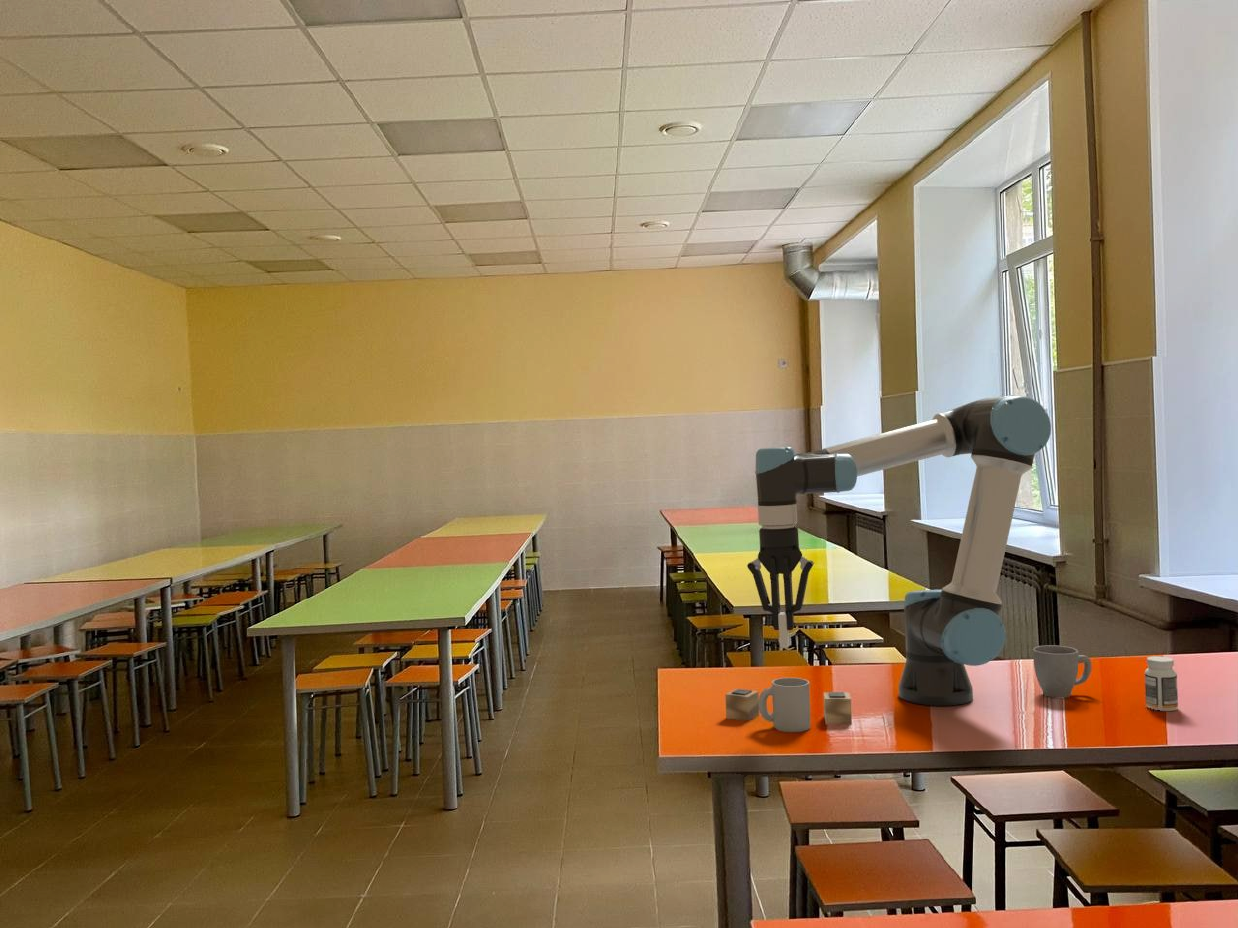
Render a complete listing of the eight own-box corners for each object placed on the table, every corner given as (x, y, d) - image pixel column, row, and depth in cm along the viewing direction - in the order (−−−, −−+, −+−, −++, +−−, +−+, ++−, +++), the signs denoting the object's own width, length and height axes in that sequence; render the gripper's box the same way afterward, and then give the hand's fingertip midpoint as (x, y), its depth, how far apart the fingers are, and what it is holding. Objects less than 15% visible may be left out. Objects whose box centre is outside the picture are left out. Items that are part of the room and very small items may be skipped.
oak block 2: (849, 717, 199) (848, 691, 199) (851, 724, 194) (850, 697, 194) (824, 717, 200) (823, 691, 200) (825, 724, 195) (825, 697, 195)
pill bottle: (1176, 705, 198) (1175, 656, 198) (1179, 713, 193) (1178, 662, 193) (1144, 703, 201) (1143, 655, 201) (1146, 710, 196) (1145, 661, 195)
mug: (1046, 701, 205) (1045, 655, 205) (1026, 690, 214) (1025, 646, 214) (1102, 698, 206) (1101, 652, 206) (1080, 687, 215) (1079, 643, 214)
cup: (813, 732, 190) (811, 686, 189) (760, 733, 190) (759, 687, 190) (808, 722, 197) (806, 677, 197) (757, 722, 197) (756, 678, 197)
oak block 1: (759, 715, 203) (758, 689, 203) (748, 721, 199) (747, 695, 199) (737, 712, 206) (736, 687, 205) (726, 718, 201) (725, 692, 201)
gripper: (814, 523, 194) (820, 642, 195) (748, 525, 198) (755, 642, 199) (809, 527, 187) (816, 651, 188) (741, 529, 191) (748, 650, 192)
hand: (784, 646), depth 193 cm, fingers closed
